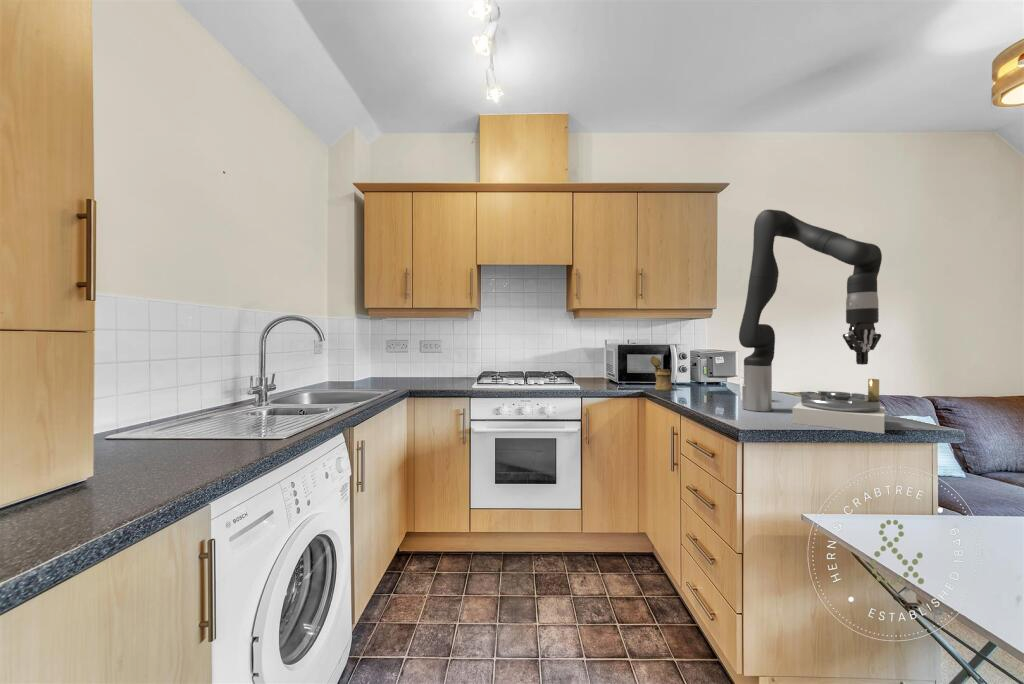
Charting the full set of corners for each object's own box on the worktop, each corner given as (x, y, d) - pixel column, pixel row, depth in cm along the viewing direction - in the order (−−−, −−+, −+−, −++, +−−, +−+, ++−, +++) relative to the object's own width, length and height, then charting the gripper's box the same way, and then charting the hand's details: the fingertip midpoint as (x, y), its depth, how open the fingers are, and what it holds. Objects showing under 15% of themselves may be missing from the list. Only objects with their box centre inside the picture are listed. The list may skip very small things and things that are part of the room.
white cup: (762, 402, 173) (762, 379, 173) (743, 401, 175) (743, 378, 174) (755, 399, 181) (755, 377, 181) (736, 398, 182) (736, 377, 182)
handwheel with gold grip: (796, 406, 131) (796, 377, 130) (805, 399, 145) (805, 373, 145) (879, 414, 117) (879, 382, 117) (880, 405, 131) (880, 377, 131)
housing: (792, 423, 131) (792, 407, 130) (802, 413, 147) (802, 399, 147) (884, 433, 115) (884, 416, 115) (884, 421, 132) (884, 406, 131)
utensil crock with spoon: (659, 387, 225) (659, 355, 225) (676, 390, 212) (676, 356, 212) (646, 388, 222) (646, 356, 222) (662, 391, 209) (662, 357, 209)
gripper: (858, 306, 117) (859, 365, 117) (892, 307, 120) (892, 364, 120) (832, 308, 124) (833, 364, 124) (864, 309, 128) (864, 363, 128)
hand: (862, 364), depth 122 cm, fingers closed
